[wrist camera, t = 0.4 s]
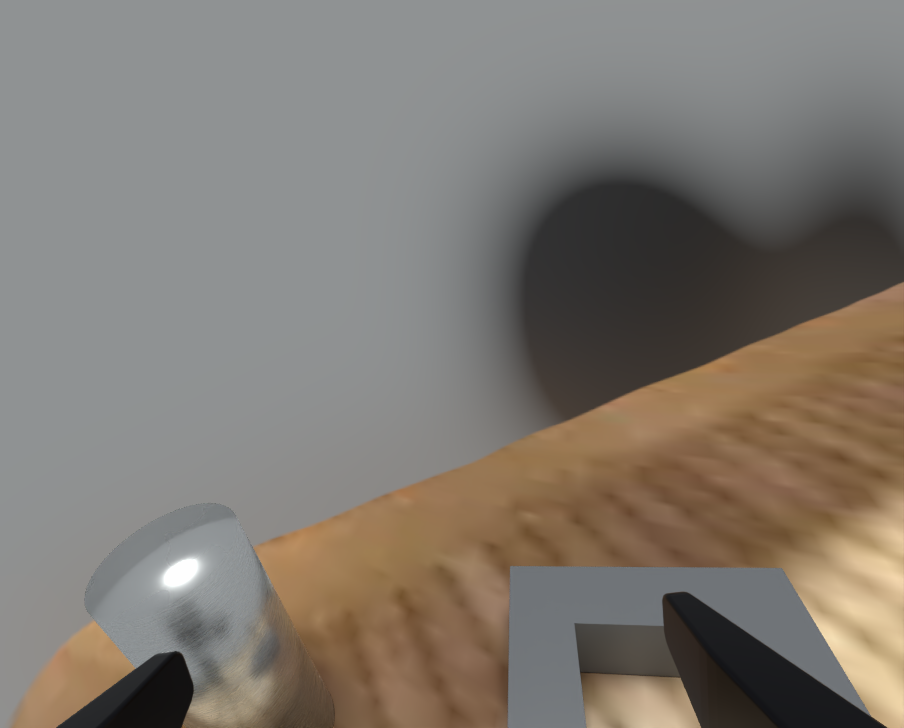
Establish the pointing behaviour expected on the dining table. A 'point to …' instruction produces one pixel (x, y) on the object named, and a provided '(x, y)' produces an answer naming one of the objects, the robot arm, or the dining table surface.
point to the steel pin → (210, 621)
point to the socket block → (639, 630)
